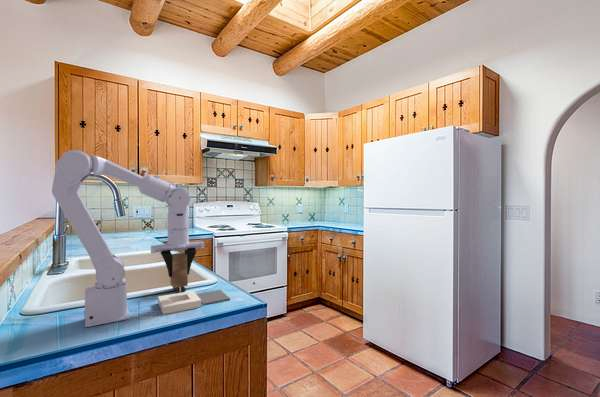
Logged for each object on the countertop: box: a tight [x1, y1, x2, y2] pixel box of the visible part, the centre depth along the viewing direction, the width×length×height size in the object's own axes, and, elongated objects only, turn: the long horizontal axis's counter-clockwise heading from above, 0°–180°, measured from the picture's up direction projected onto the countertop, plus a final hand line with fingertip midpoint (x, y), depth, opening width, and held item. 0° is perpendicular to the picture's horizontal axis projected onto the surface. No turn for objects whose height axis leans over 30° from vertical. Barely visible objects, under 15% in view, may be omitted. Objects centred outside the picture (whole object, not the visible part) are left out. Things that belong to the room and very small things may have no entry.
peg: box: [170, 252, 189, 289], centre depth 90 cm, size 4×4×9 cm
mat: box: [196, 289, 231, 306], centre depth 96 cm, size 8×10×1 cm
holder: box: [157, 290, 202, 315], centre depth 90 cm, size 10×10×2 cm
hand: (178, 275), depth 90 cm, fingers closed on peg, 4 cm apart
